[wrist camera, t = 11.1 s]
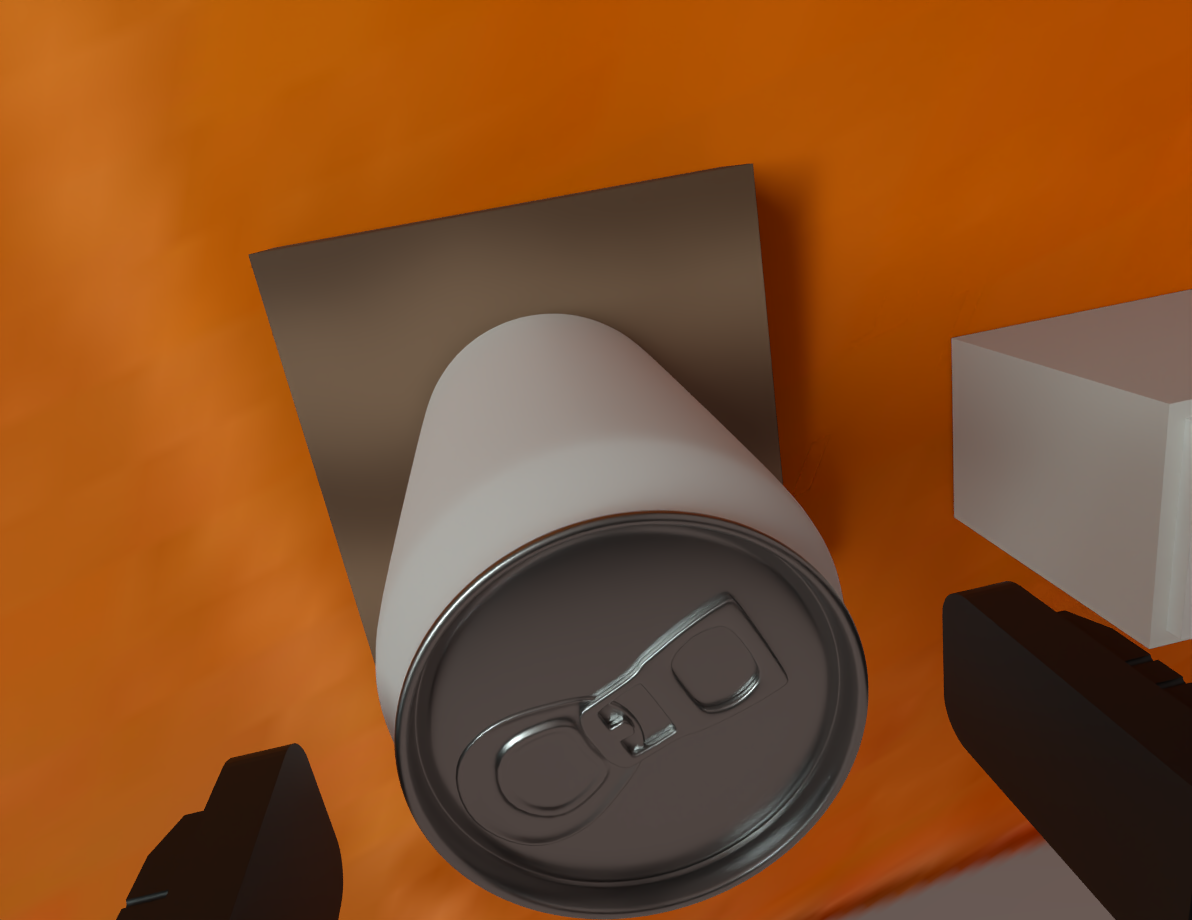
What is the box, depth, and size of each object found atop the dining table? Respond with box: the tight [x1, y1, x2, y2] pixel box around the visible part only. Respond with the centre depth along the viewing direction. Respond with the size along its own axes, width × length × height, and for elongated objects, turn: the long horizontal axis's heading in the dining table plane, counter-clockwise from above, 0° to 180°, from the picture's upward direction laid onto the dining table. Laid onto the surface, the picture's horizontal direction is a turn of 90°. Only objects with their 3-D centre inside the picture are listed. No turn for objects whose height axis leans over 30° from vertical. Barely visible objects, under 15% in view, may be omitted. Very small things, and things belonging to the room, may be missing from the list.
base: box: [249, 163, 783, 665], centre depth 22 cm, size 12×12×2 cm
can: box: [376, 314, 868, 919], centre depth 15 cm, size 6×6×12 cm
